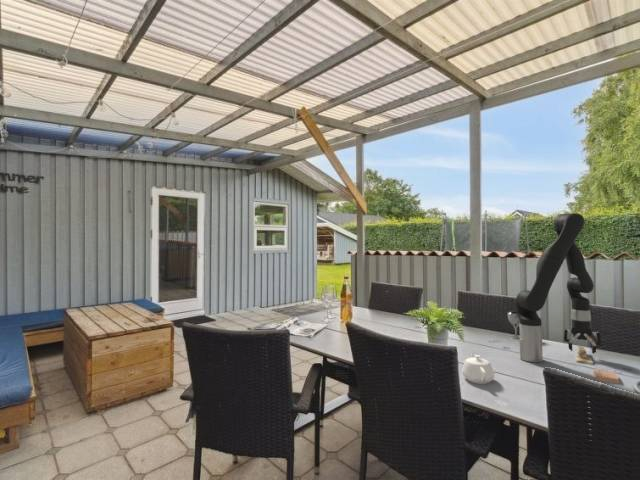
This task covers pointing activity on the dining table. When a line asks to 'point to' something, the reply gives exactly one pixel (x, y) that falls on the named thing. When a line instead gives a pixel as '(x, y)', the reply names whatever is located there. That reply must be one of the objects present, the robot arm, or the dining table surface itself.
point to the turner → (583, 356)
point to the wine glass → (514, 322)
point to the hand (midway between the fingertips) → (582, 351)
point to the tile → (605, 376)
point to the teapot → (478, 370)
